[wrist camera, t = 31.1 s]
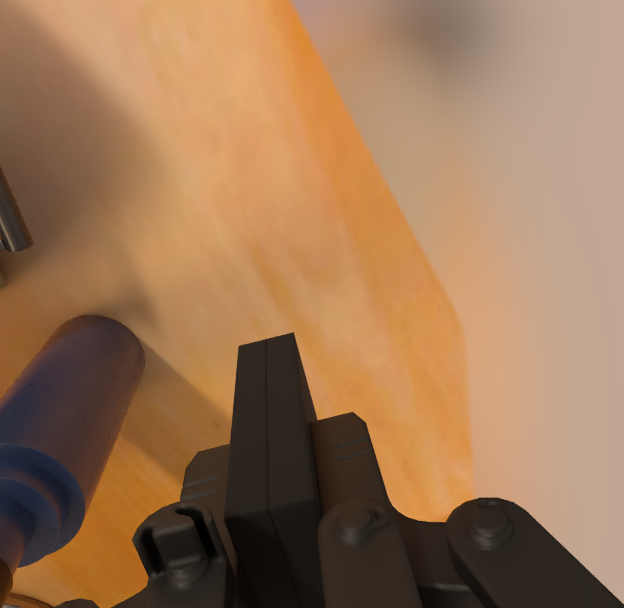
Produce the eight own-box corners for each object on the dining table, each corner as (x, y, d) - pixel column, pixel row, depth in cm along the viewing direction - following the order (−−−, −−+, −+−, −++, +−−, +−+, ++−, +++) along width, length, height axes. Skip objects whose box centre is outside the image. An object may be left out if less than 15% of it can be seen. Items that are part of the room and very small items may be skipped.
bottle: (157, 387, 45) (70, 645, 25) (68, 409, 45) (-91, 684, 25) (125, 305, 42) (0, 516, 22) (31, 328, 42) (-181, 559, 22)
